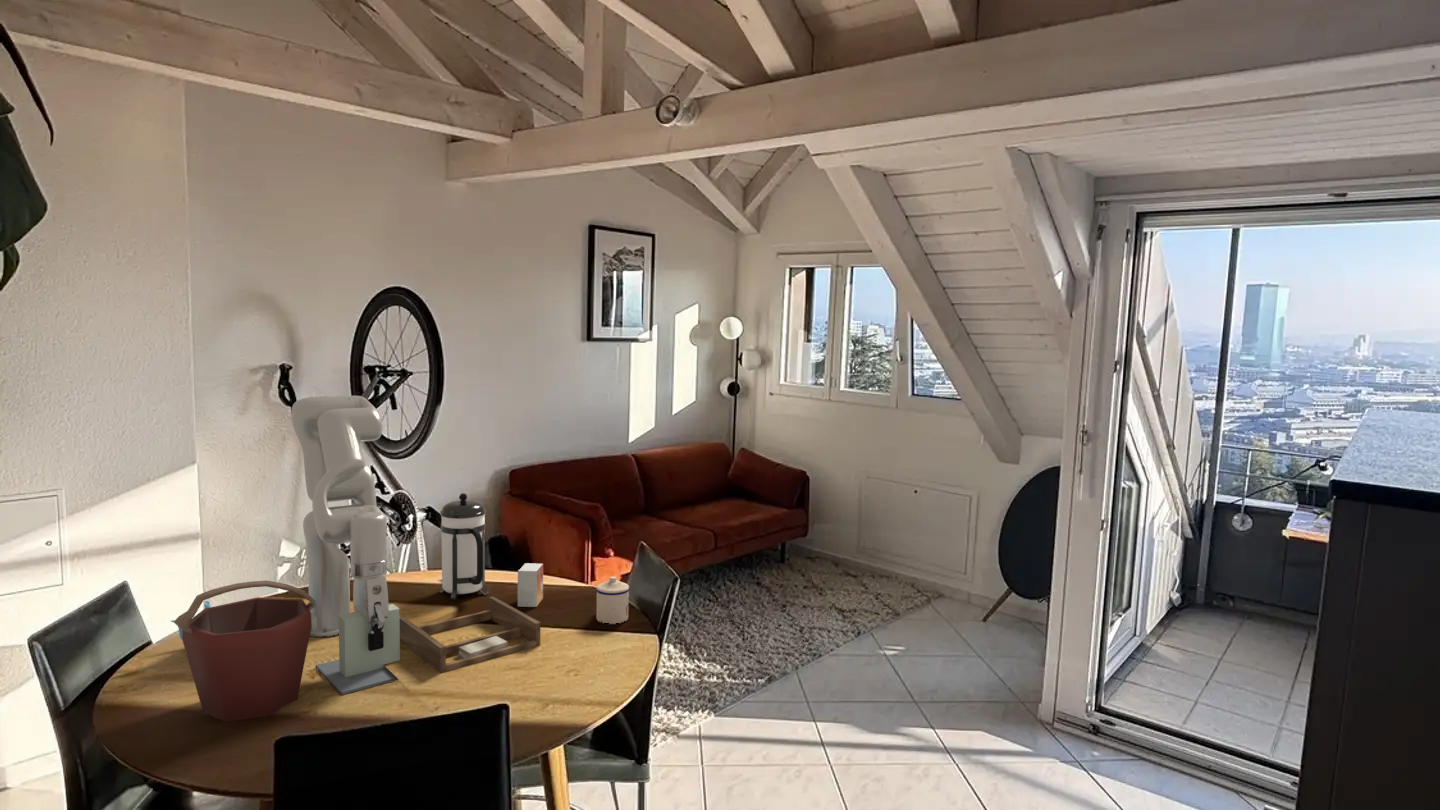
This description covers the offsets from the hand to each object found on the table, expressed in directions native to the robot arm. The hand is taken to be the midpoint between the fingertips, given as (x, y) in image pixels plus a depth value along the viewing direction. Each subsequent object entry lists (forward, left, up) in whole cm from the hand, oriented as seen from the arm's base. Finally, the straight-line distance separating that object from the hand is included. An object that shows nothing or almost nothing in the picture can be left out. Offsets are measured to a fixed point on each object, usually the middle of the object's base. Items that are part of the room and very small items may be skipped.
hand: (370, 643), depth 182 cm
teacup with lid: (+62, -6, -6) cm, 63 cm away
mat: (0, 0, -6) cm, 6 cm away
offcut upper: (+23, -10, -5) cm, 25 cm away
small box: (+51, +18, -6) cm, 54 cm away
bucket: (-24, 0, -6) cm, 25 cm away
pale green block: (0, 0, -6) cm, 6 cm away
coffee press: (+40, +36, -6) cm, 54 cm away
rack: (+23, -2, -6) cm, 24 cm away
